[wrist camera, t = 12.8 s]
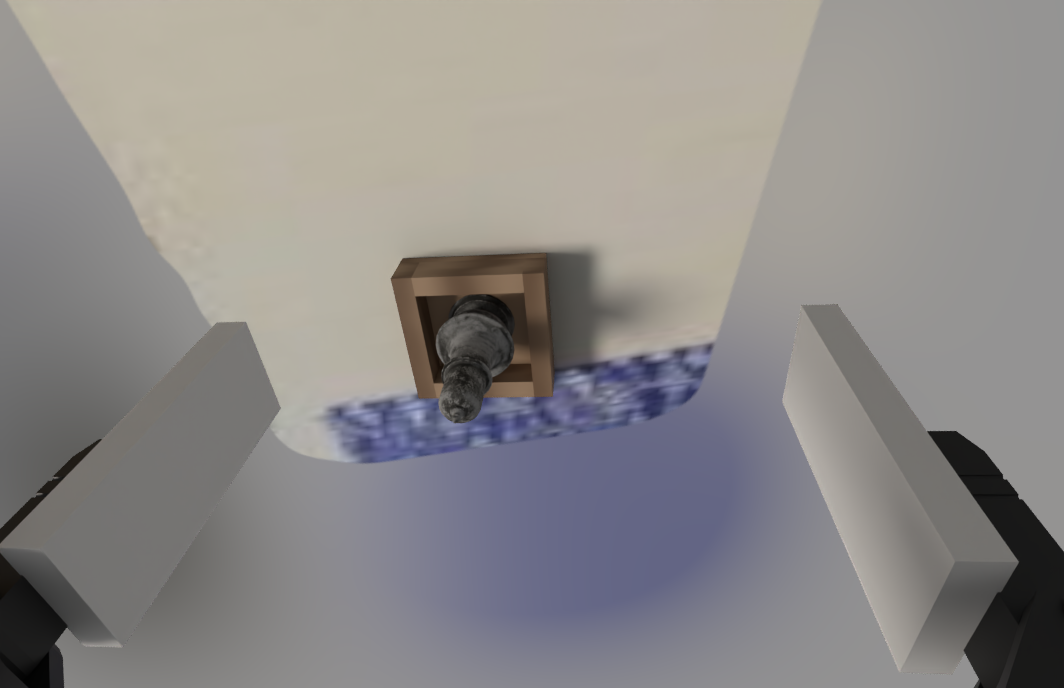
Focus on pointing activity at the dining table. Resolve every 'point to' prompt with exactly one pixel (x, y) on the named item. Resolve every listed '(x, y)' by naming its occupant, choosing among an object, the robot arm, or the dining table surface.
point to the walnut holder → (510, 278)
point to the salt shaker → (473, 353)
